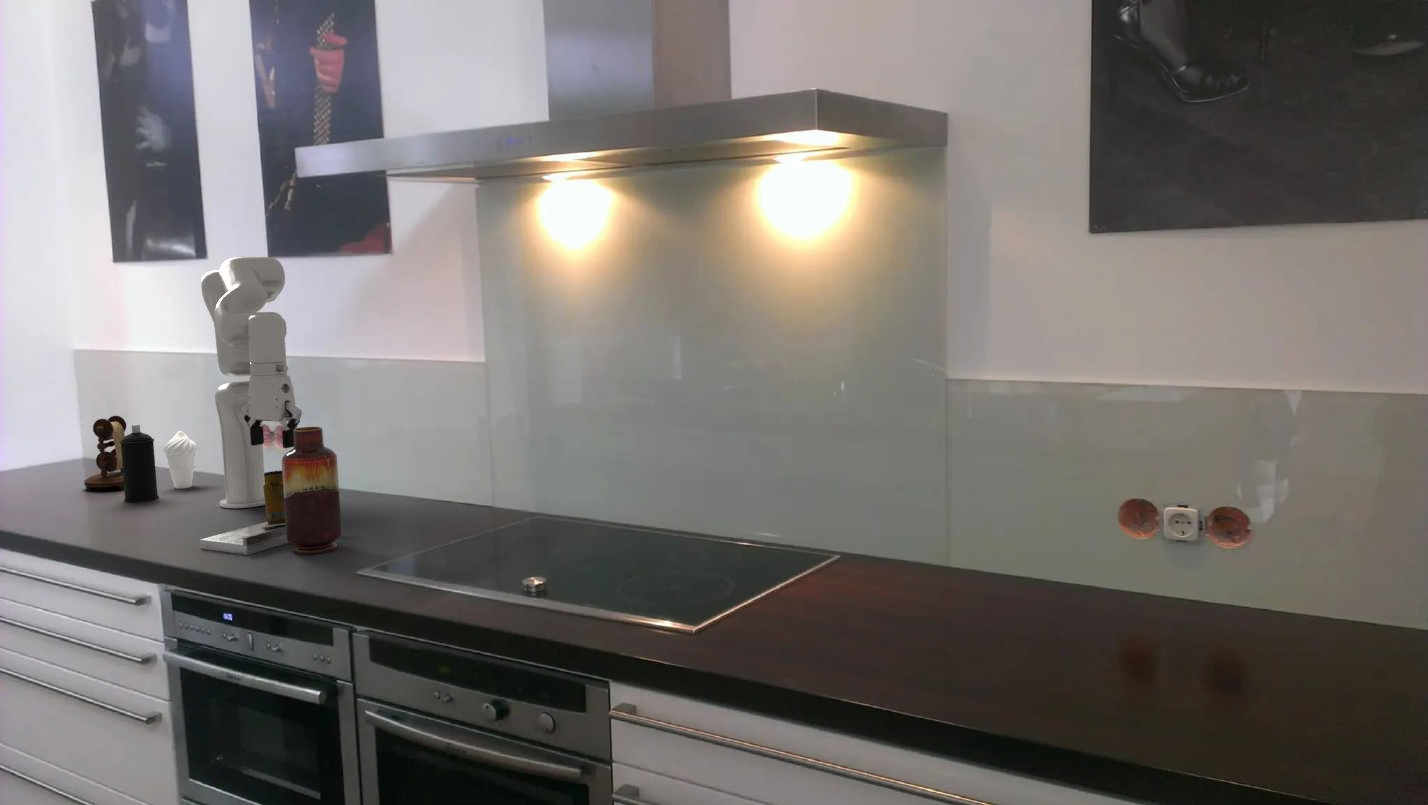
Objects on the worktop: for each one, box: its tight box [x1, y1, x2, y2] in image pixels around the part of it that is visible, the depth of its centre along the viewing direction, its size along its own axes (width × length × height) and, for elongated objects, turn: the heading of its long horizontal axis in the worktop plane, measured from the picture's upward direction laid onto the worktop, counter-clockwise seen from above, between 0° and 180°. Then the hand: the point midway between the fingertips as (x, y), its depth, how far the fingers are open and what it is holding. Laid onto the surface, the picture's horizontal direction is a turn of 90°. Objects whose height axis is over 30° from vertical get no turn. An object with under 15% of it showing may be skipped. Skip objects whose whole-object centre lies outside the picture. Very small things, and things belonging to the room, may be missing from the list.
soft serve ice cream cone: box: [163, 430, 198, 490], centre depth 305 cm, size 8×8×16 cm
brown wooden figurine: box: [83, 415, 127, 491], centre depth 307 cm, size 15×15×20 cm
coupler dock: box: [199, 521, 290, 556], centre depth 242 cm, size 22×14×8 cm, turn 155°
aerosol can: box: [119, 423, 160, 503], centre depth 289 cm, size 8×8×20 cm
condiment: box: [263, 470, 286, 526], centre depth 245 cm, size 7×8×12 cm
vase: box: [281, 426, 342, 555], centre depth 232 cm, size 11×11×26 cm
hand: (273, 446), depth 244 cm, fingers open, 9 cm apart
